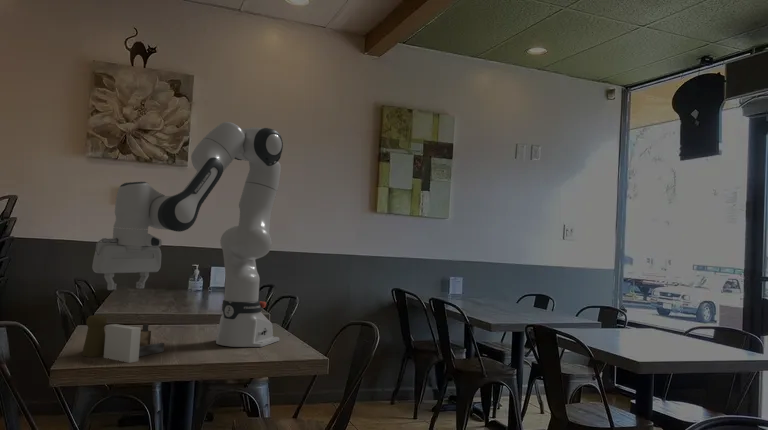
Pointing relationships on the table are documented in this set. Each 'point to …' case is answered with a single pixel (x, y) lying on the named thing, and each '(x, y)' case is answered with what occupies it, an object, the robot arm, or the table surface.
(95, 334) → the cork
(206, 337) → the table surface
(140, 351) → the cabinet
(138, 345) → the white rectangular block
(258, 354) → the table surface
